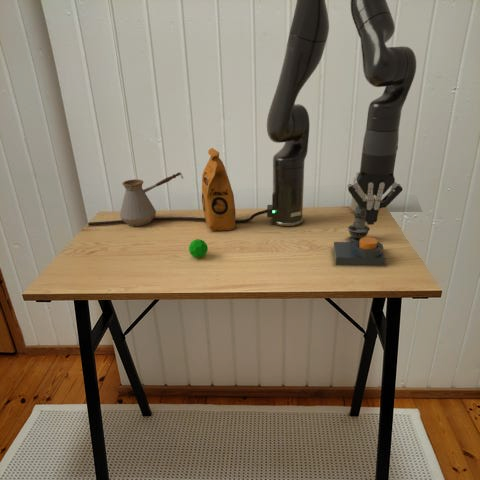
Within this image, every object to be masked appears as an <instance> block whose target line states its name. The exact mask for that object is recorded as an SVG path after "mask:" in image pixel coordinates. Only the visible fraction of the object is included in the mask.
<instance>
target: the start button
mask: <svg viewBox="0 0 480 480" xmlns="http://www.w3.org/2000/svg"><path fill="white" fill-rule="evenodd" d="M378 242H379V240H378V239H377V238H375V237H370V236H365V237H364V238H361V239H360V241H359V247H360V248H362V249H366V250H372V249H376V248H377V243H378Z"/></svg>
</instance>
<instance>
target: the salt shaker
mask: <svg viewBox="0 0 480 480" xmlns="http://www.w3.org/2000/svg"><path fill="white" fill-rule="evenodd" d="M362 200H363V199H362ZM365 210H366V209H365V208H361V207H360V206H359V205H358V203H357V204H356V211H355V212H354V214H353V217H354V218H353V223H352V224H350V225H348V226H347V229H348V233H349V236H350V237H348V238H347V242H356V241H360V239H361V238H364V237H367V235H368V234H369V231H371V229H370V227H369V226H368V225H366V222H365Z"/></svg>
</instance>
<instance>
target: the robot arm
mask: <svg viewBox="0 0 480 480" xmlns="http://www.w3.org/2000/svg"><path fill="white" fill-rule="evenodd" d="M295 3H296V4H295V9H294V13H293V17H292V21H291V25H290V28H289V32H288V33H289V34H288V38H287V41H286V47H285V52H284V57H283V62H282V65H281V69H280V73H279V77H278V81H277V85H276V89H275V92H274V94H273V97H272V101H271V104H270V107H269V110H268V113H267V118H266V133H267V136H268V138H269V140H270V141H271V142H273V143H275V144H277V143H279V144H281V143H284V144H283V146H282V148H280V149H279V150H278V151H277V152H276V153H274V155H273V157H272V194H271V204H267V205H266V206H267V207H266V209H264V210H260V211H257V212H255V213H253V214H252V215H250V216H249V217H248V218H245V219H235V224H244V223H247V222H251V221H252V220H253V219H254V218H255V217H258V216H260V215H264V214H266V218H272V219H271V223H272V225H275V226H280V227H295V226H298V225H301V224H302V223H303V221H304V217H303V216H304V214H303V213H304V211H303V210H304V187H305V186H304V183H305V161H306V158H307V156H308V149H309V138H310V115H309V112H308V110H307V108H306V106H304V105H302V104H300V103H296V101H297V98H298V96H299V94H300V92H301V91H302V89H303V87H304V86H305V84H306V83H307V82H308V81H309V79H311V76H312V75H313V74H314V72H315V70H317V67H318V66H319V65H320V62H321V60H322V59H323V55H324V51H325V47H326V46H327V45H326V44H327V41H328V37H329V32H330V20H329V13H328V8H327V4H326V0H296V2H295ZM350 15H351V18H352V21H353V25H354V28H355V29H356V30H355V31H356V32H357V35H358V37H359V40H360V50H361V51H360V52H361V63H362V72H363V77H364V78H365V80H366V81H367V83H368V84H369V85H371V86H372V87H373V88H383V87H384V89H383V92H382V94H381V96H379V97H377V98H375V99H373V100H372V101H371V102H369V104H368V108H367V115H366V124H365V132H364V135H363V140H362V148H361V149H362V150H361V151H362V152H361V159H360V168H359V172H360V173H359V176H358V177H357V181H355V182H354V183H353V182H352V183H349V184H347V191H348V192H349V193H350V195H351V197H352V196H353V198H354V199H355V201H356V202H357V203H358V205H359V206H360V207H361V208H365V209H366V210H365V223H366V224H367V225H366V226H368V225H372V226H373V225H374V224H375V223H377V221H378V217H379V216H378V215H379V210H380V209H382V208H384V209H386V208H387V207H388V206H389V205H390V204H391V203H392V202H393V201H394V200H395V199H396V198H397V197H398V196H399V195H400V194H401V193H402V192H403V187H402V185H401V184H400V183H397V181H396V179H395V178H396V177H395V175H394V173H395V167H396V166H395V165H396V158H397V152H398V150H399V149H398V148H399V134H400V132H399V130H400V123H401V117H402V110H403V107H404V105H405V103H406V100H407V98H408V95H409V92H410V89H411V88H412V84H413V81H414V79H415V76H416V72H417V57H416V53H415V52H414V50H413V49H412V48H411V47H409V46H390V47H388V46H387V45H386V43H388V42H389V40H390V39H391V38H392V37H393V36H394V34H395V31H396V27H395V22H394V18H393V15H392V13H391V10H390V7H389V5H388V2H387V0H350ZM358 185H359V186H360V187H361V189H362V191H363V192H364V193H365V194H366V201H363V200H362V198H361V197H360V195H359V194H358V190H359V189H358ZM389 189H390V191H389V192H388V193H386V192H387V191H388V190H389ZM384 194H386V195H385V196H383V195H384ZM373 195H374V200H373ZM372 200H373V207H372ZM153 221H197V222H198V221H200V222H201V221H203V222H206V220H205V217H197V216H195V217H194V216H193V217H192V216H164V217H163V216H161V217H154V218H153V220H151V222H153ZM113 224H126V223H125V222H124V221H123V220H122V219H119V220H106V221H105V220H104V221H91V222H88V223H87V225H88V226H100V225H102V226H103V225H113Z"/></svg>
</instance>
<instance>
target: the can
mask: <svg viewBox="0 0 480 480" xmlns="http://www.w3.org/2000/svg"><path fill="white" fill-rule="evenodd" d="M359 173H360V171H358V172H356V174H355V176H354V177H353V181H352V184H353V183H354V182H355V181H357V177H358V176H359ZM358 189H359V190H358V194H359V195H360V197H361V198H362V199H363V201H366V194H365V193H364V192H363V191H362V189H361V187H360V186H359V185H358ZM373 200H374V195H373ZM373 200H372V207H373ZM356 204H357V202H356V201H355V199H354V198H353V196H352V195H351V202H350V210H352V211H353V212H354V213H355V211H356Z"/></svg>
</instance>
